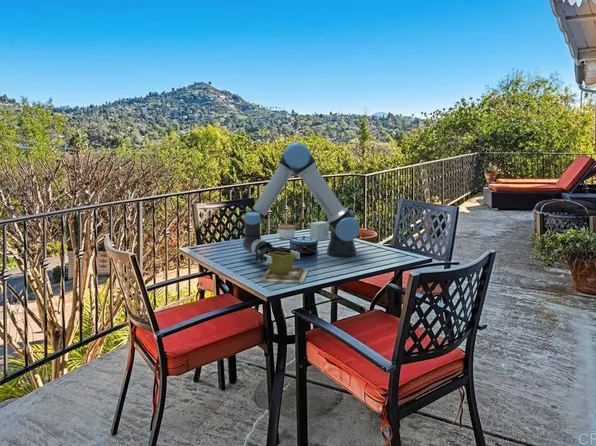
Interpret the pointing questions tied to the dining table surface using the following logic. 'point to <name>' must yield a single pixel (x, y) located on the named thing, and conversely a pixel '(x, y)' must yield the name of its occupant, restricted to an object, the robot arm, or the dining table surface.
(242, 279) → the dining table surface
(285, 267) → the flower pot
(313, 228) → the skincare box
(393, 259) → the dining table surface
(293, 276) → the birch tray
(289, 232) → the lidded jar
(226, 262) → the dining table surface
